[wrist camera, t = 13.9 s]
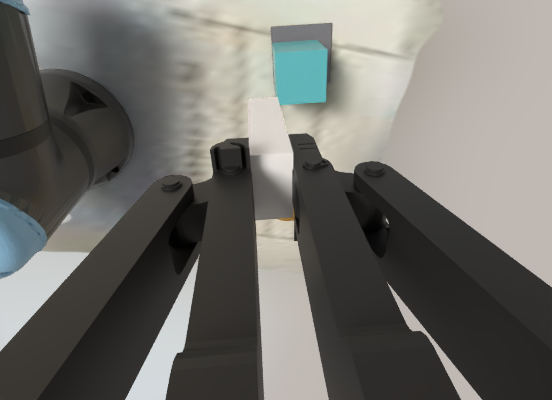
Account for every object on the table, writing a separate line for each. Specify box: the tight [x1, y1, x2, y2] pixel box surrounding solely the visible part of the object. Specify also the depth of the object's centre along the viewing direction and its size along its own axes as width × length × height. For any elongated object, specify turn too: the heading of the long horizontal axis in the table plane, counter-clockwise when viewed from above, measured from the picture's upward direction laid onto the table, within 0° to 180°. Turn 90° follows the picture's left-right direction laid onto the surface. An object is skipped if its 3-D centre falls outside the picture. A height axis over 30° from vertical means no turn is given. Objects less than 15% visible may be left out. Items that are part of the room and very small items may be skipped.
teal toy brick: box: [272, 40, 328, 105], centre depth 37 cm, size 5×5×7 cm
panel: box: [271, 23, 332, 82], centre depth 40 cm, size 7×6×1 cm
